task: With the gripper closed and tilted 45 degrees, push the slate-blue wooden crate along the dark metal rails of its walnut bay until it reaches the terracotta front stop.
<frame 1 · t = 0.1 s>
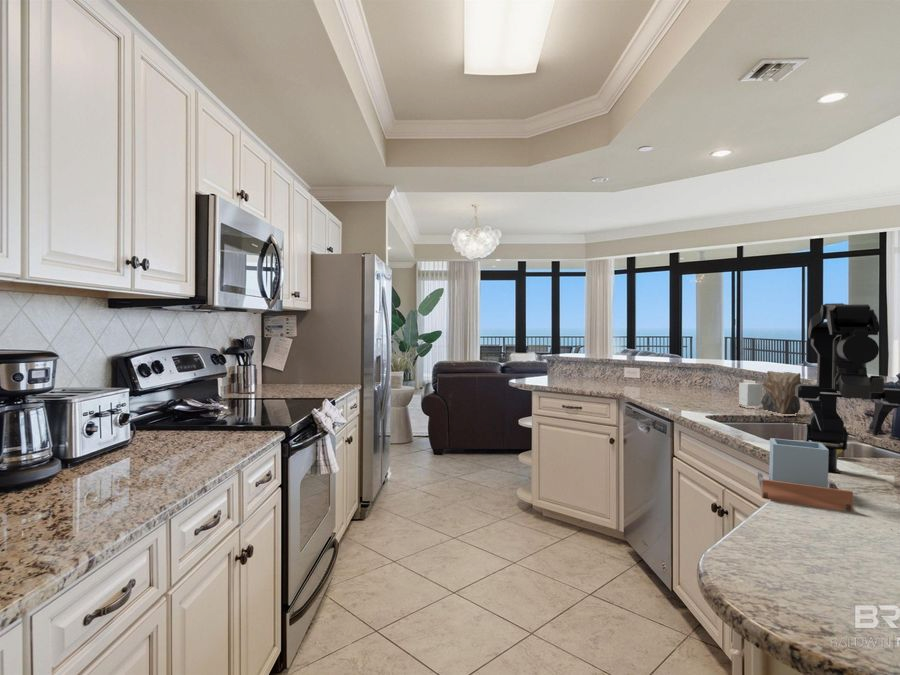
hand: (847, 433, 107), 15 cm above the counter, tool pointing down, fingers open, 9 cm apart
owl: (780, 415, 226), on the counter
lemon: (831, 457, 147), on the counter
crate: (797, 465, 112), point 6 cm above the counter, slide at 0.0 cm
supplement box: (749, 408, 248), on the counter
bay: (799, 498, 108), on the counter
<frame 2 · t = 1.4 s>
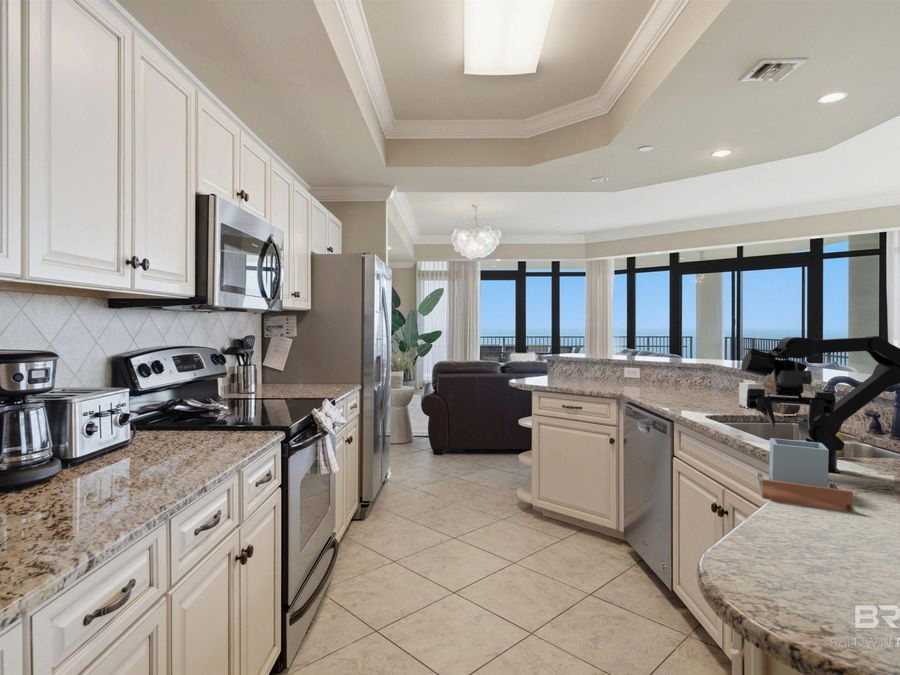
hand: (791, 427, 122), 13 cm above the counter, tool tilted 45°, fingers open, 7 cm apart
nothing on the counter moved.
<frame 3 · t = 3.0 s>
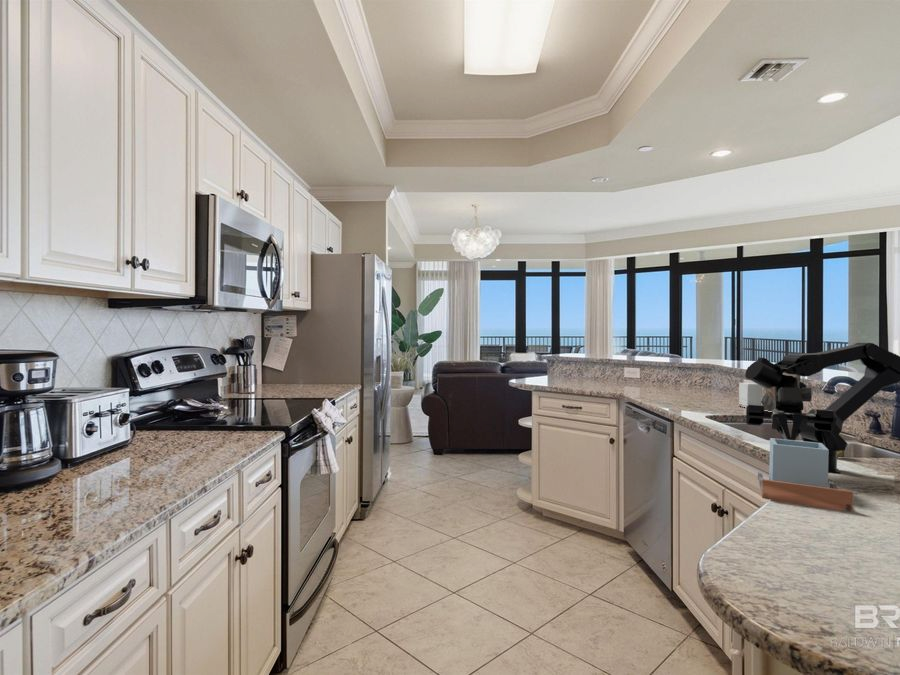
hand: (790, 445, 120), 9 cm above the counter, tool tilted 45°, fingers closed
nothing on the counter moved.
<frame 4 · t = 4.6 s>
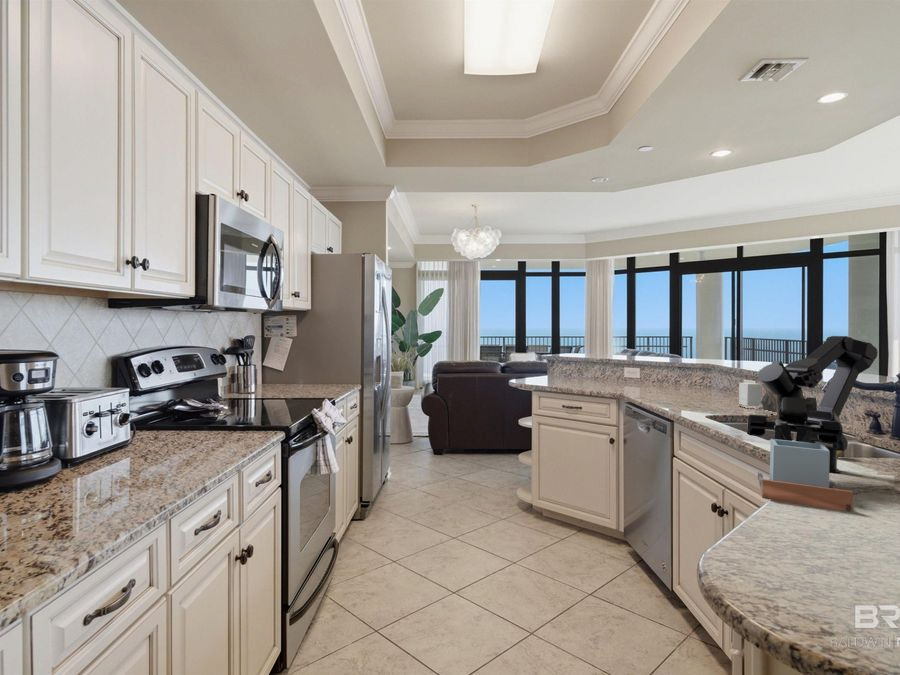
hand: (794, 458, 114), 7 cm above the counter, tool tilted 45°, fingers closed, pressing on crate
crate: (798, 466, 111), point 6 cm above the counter, slide at 1.1 cm, touching gripper
everything else where it was.
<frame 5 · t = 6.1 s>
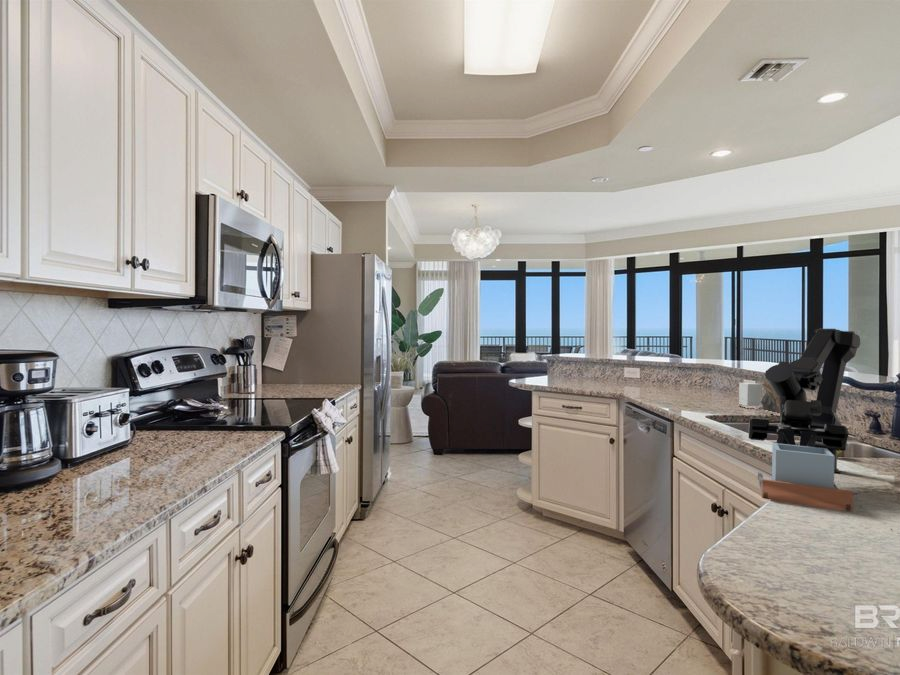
hand: (798, 463, 110), 7 cm above the counter, tool tilted 45°, fingers closed, pressing on crate
crate: (801, 472, 106), point 6 cm above the counter, slide at 6.3 cm, touching gripper
everything else where it was.
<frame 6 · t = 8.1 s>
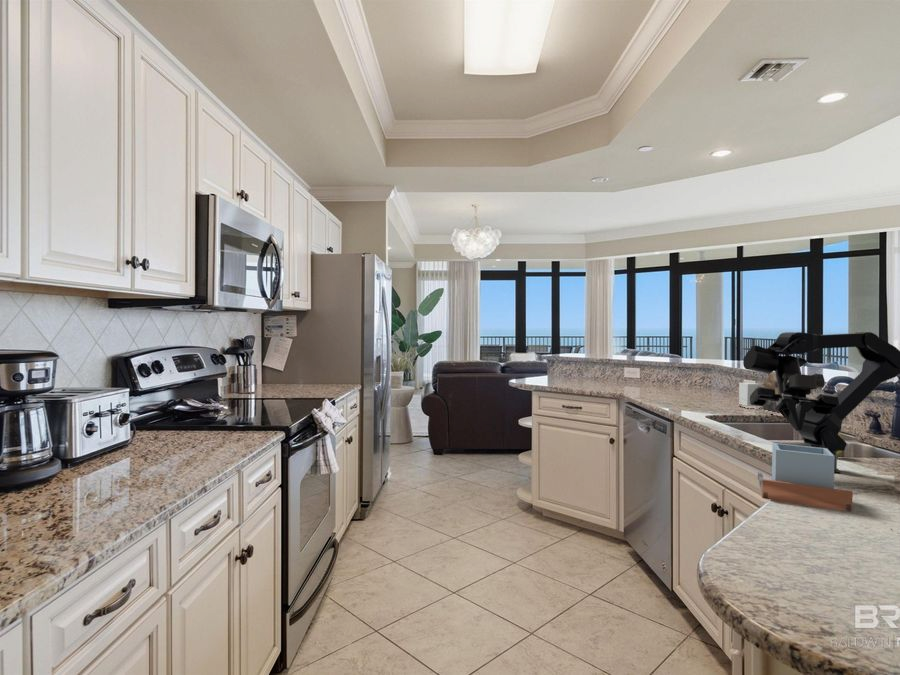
hand: (799, 430, 122), 12 cm above the counter, tool tilted 35°, fingers closed
crate: (801, 472, 106), point 6 cm above the counter, slide at 6.3 cm
everything else where it was.
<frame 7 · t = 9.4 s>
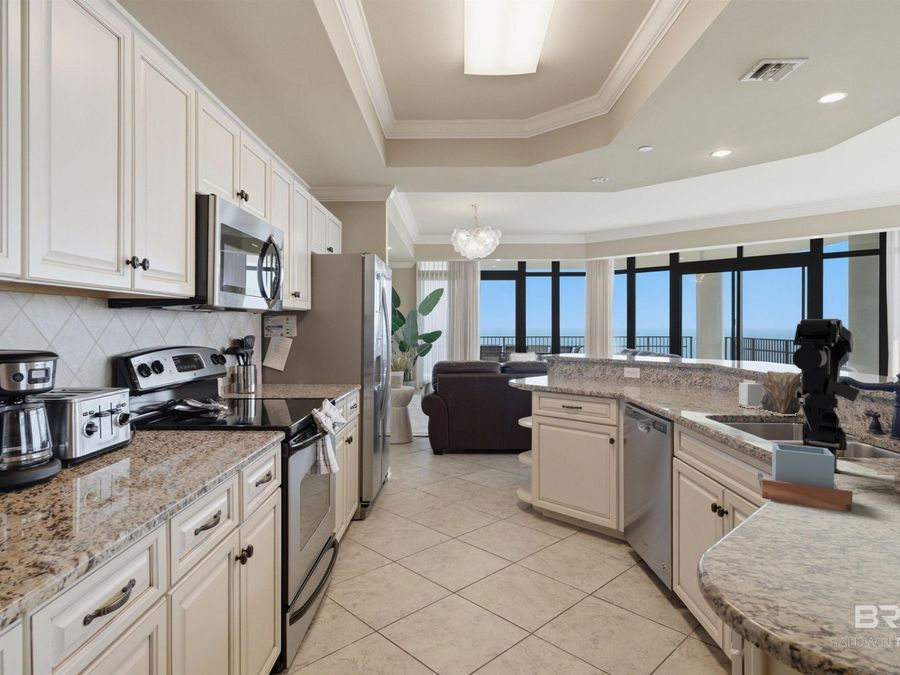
hand: (814, 431, 122), 12 cm above the counter, tool pointing down, fingers closed
nothing on the counter moved.
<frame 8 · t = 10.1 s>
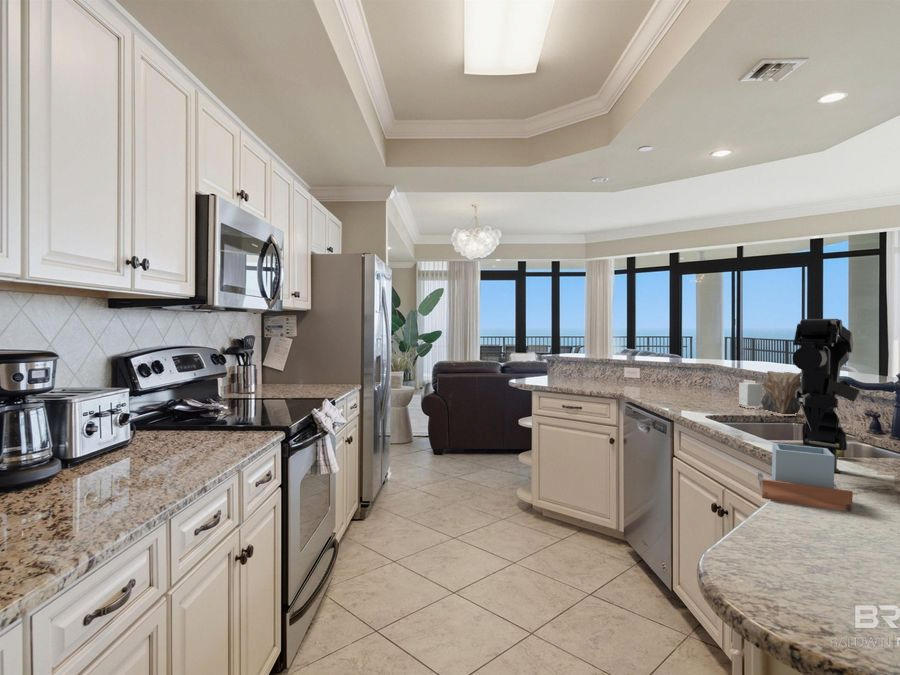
hand: (814, 431, 122), 12 cm above the counter, tool pointing down, fingers closed
nothing on the counter moved.
at the end: crate slide at 6.3 cm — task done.
